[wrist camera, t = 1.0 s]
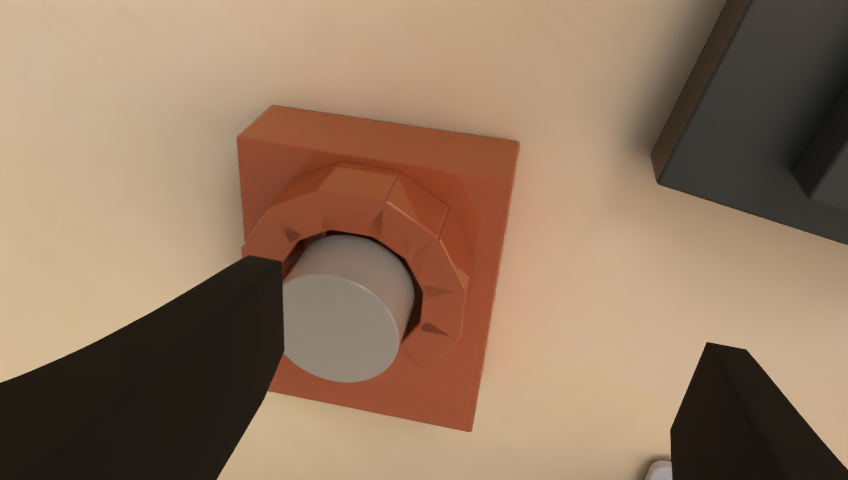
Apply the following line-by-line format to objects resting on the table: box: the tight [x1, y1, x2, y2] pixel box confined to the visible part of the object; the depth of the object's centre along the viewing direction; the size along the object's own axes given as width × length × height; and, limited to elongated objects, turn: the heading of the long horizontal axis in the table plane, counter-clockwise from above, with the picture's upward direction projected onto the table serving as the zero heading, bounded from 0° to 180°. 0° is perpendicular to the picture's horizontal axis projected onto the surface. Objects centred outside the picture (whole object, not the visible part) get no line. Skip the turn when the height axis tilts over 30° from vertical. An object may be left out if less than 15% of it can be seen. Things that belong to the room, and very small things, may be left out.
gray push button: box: [283, 235, 415, 383], centre depth 18 cm, size 4×4×2 cm
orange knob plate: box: [237, 105, 520, 432], centre depth 21 cm, size 10×8×4 cm
